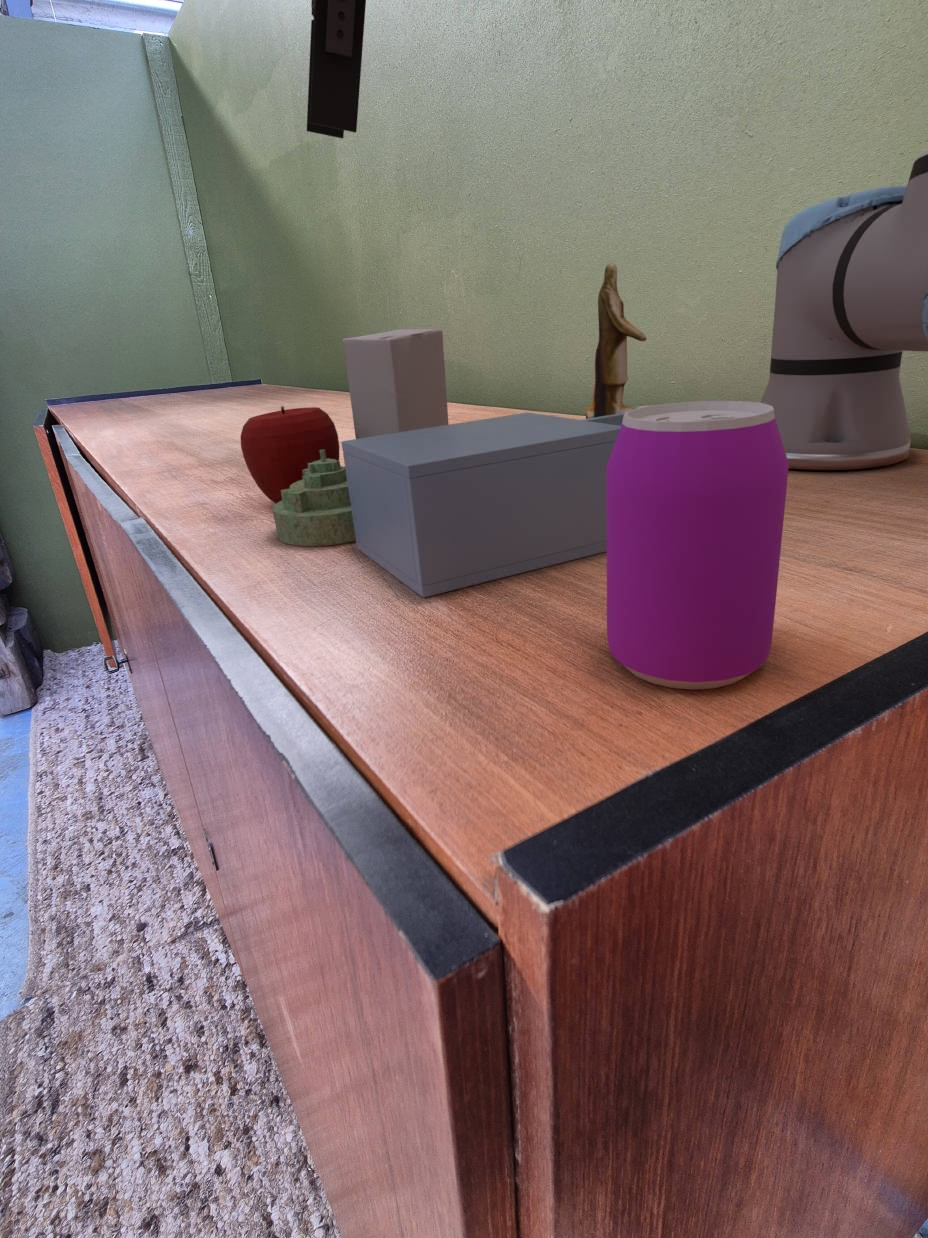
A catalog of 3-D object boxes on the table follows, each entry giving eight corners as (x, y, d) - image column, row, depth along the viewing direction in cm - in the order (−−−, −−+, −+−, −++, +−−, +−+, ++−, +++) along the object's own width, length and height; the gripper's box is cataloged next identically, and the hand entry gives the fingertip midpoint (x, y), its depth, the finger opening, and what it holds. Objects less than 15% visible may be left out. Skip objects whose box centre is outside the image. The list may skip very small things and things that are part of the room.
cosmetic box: (409, 480, 81) (392, 329, 74) (460, 484, 77) (447, 325, 70) (358, 498, 74) (334, 335, 68) (410, 503, 70) (390, 331, 64)
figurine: (651, 476, 72) (655, 256, 64) (575, 477, 75) (570, 266, 67) (655, 466, 76) (659, 259, 69) (582, 467, 79) (579, 267, 71)
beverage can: (751, 627, 38) (770, 394, 33) (787, 698, 31) (817, 417, 27) (605, 628, 40) (604, 404, 35) (608, 697, 33) (607, 430, 28)
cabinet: (532, 510, 64) (528, 412, 61) (629, 546, 52) (629, 426, 49) (357, 548, 58) (341, 441, 54) (423, 598, 46) (408, 465, 43)
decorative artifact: (351, 549, 58) (410, 515, 66) (338, 462, 55) (401, 438, 63) (254, 543, 62) (320, 512, 70) (237, 461, 59) (308, 439, 67)
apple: (249, 503, 76) (229, 407, 73) (337, 489, 79) (322, 396, 76) (259, 522, 68) (238, 415, 64) (356, 505, 71) (341, 402, 67)
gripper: (284, -262, 47) (275, 126, 57) (276, -597, 26) (264, 107, 37) (398, -224, 48) (368, 145, 59) (474, -508, 28) (407, 137, 39)
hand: (328, 132), depth 48 cm, fingers open, 13 cm apart
